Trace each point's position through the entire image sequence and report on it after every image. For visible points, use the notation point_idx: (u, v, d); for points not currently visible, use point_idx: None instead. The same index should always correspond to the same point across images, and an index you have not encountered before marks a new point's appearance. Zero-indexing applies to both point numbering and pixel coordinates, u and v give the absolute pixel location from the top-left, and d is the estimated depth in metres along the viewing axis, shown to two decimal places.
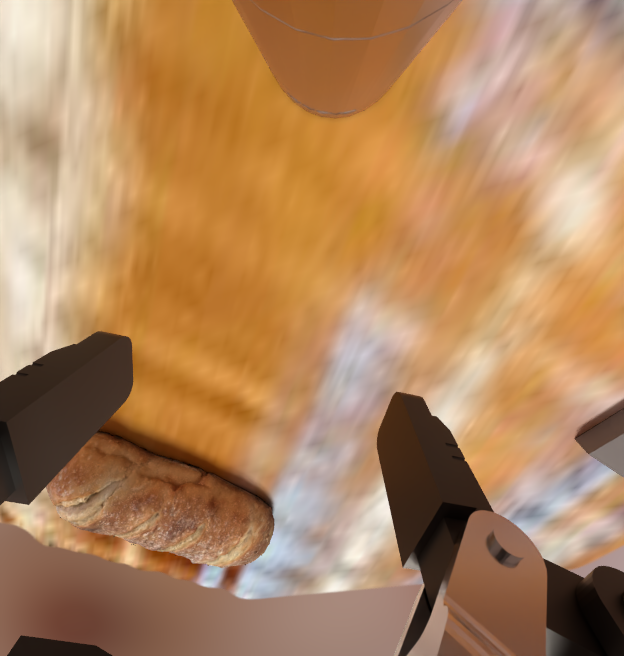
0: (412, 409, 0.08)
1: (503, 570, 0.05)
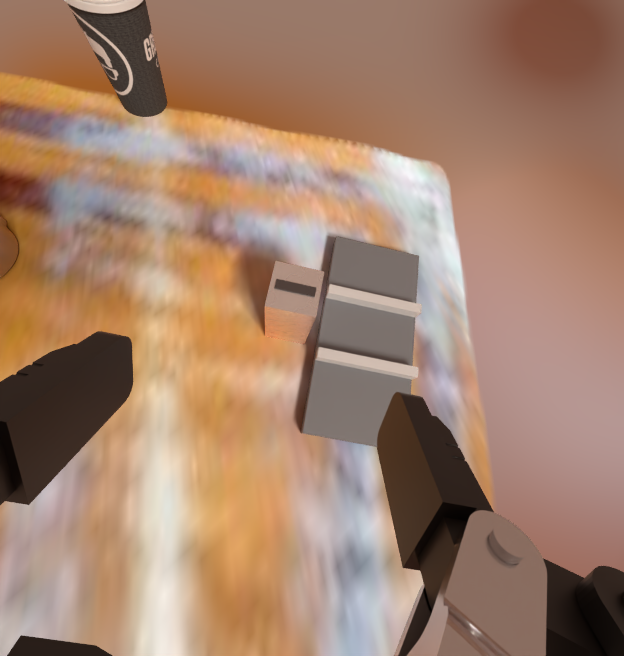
0: (412, 409, 0.08)
1: (503, 570, 0.05)
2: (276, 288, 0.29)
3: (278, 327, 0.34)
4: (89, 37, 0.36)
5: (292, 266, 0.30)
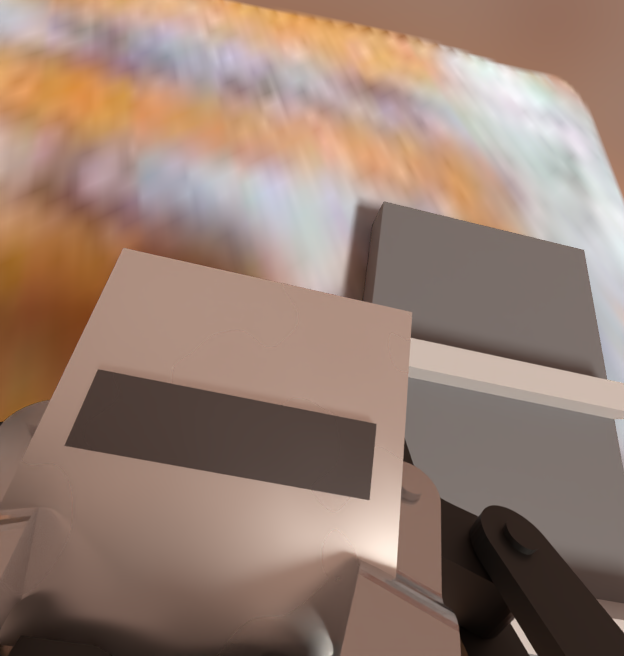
0: None
1: None
2: (86, 448, 0.04)
3: None
4: None
5: (225, 282, 0.05)
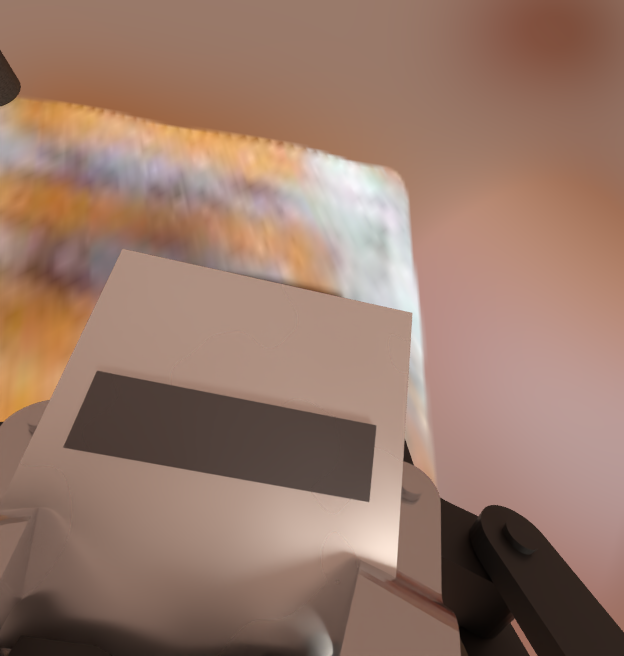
0: None
1: None
2: (85, 449, 0.04)
3: None
4: None
5: (224, 283, 0.05)
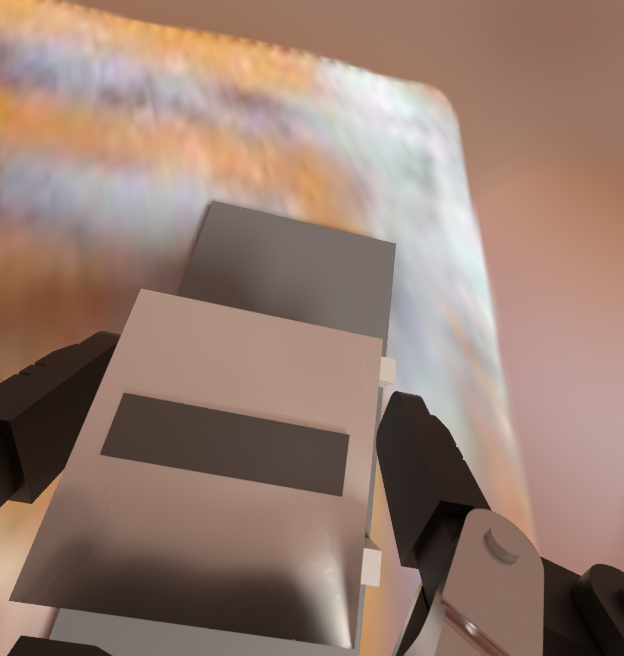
0: (410, 408, 0.08)
1: (500, 568, 0.05)
2: (116, 456, 0.05)
3: None
4: None
5: (226, 316, 0.06)
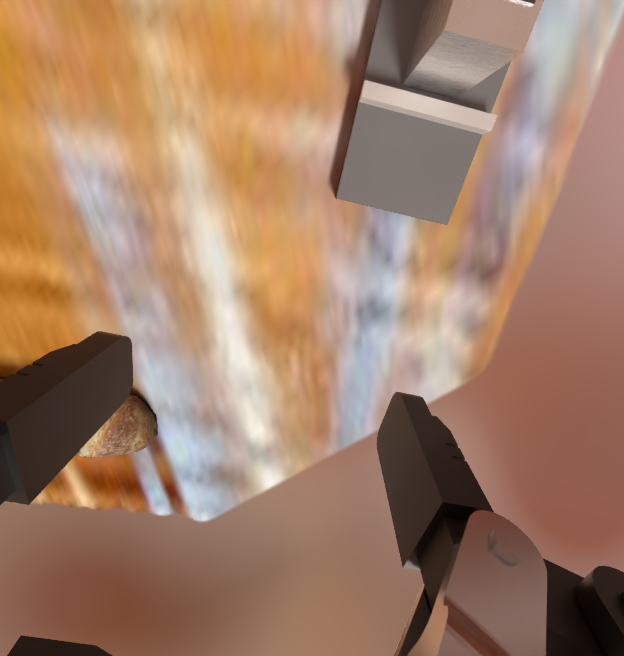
0: (412, 409, 0.08)
1: (503, 570, 0.05)
2: None
3: (436, 71, 0.23)
4: None
5: None
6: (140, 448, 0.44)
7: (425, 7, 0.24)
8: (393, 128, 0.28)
